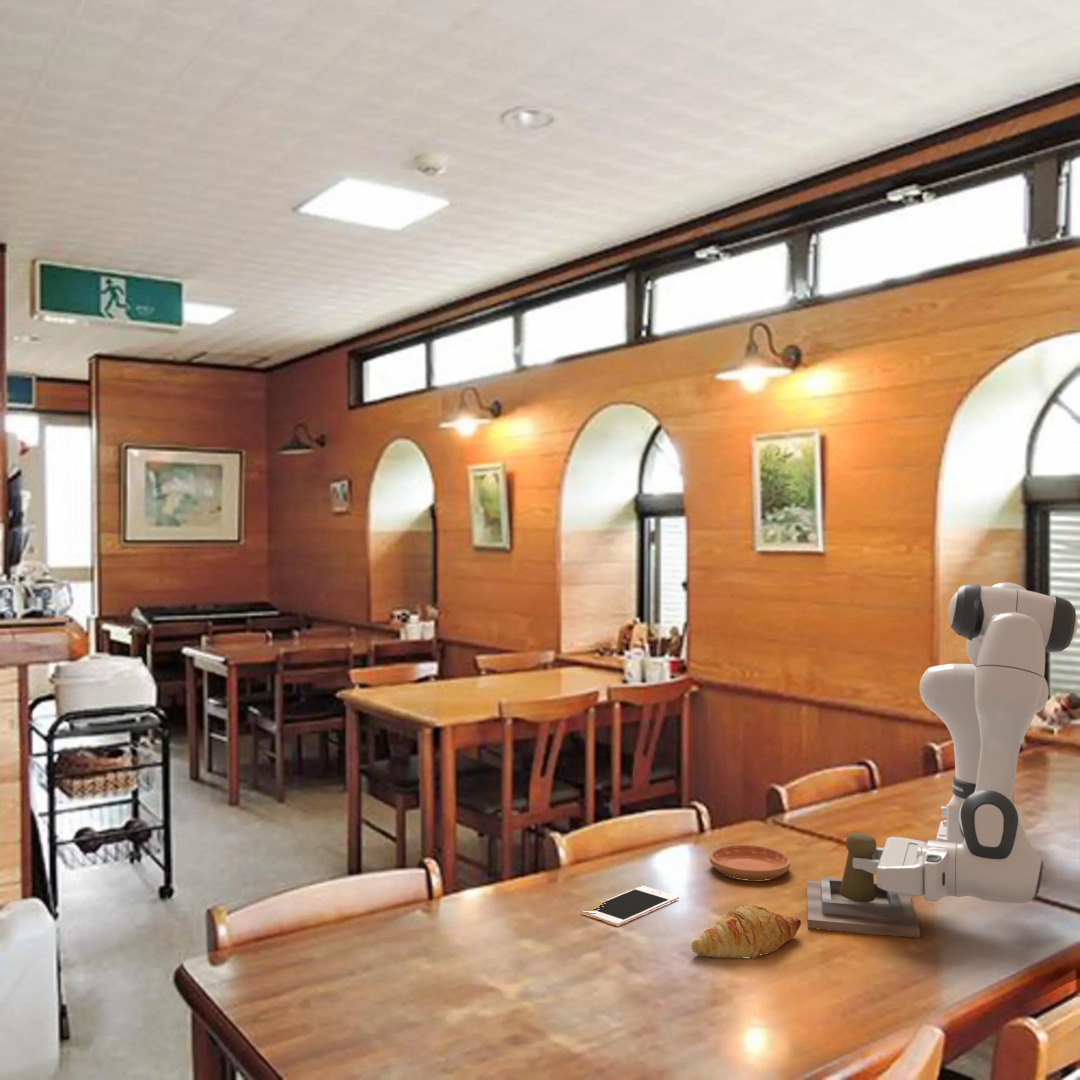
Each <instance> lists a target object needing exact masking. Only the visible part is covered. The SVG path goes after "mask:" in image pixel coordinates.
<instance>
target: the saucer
mask: <svg viewBox="0 0 1080 1080" xmlns="http://www.w3.org/2000/svg"><path fill="white" fill-rule="evenodd" d="M708 858H709V862H710V863H711V865H712V866H713V867H714V868H715V870H717V871H718V872H719V873H720V872H721V873H722V874H721V873H720V874H721V875H723V874H724V875H723V876H725V875H727V876H731V877H735V878H740V879H748V880H765V879H773V878H776V877H778V878H780V877H781V876H783V875H784V874H785V873H786V872H787V871H789V869H790V868H791V862H792V861H791V858H790V857H789V856H788V855H787V854H786V853H784V852H782V851H779V850H777V849H774V848H770V847H765V846H760V845H753V844H752V845H748V844H731V845H726V846H720V847H716V848H714V849H713V850H711V851H710V853H709V857H708ZM727 876H726V877H727ZM779 876H780V877H779ZM776 879H777V878H776ZM773 880H774V879H773Z"/></svg>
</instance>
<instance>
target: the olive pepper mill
mask: <svg viewBox="0 0 1080 1080" xmlns="http://www.w3.org/2000/svg"><path fill="white" fill-rule="evenodd" d="M845 846H846V849H847V851H848V852H847V856H846V860H845V861H846V862H845V867H844V872H843V875H842V878H841V879H842V884H841V888H840V894H841V895H842V896H843V897H845V898H847V899H850V900H853V901H858V902H871V901H873V900H875V893H874V881H875V878H874V875H875V874H873V873H870V872H868V871H865V870H863V869H855V868H853V858H854V857H855V856H858V857H864V858H865V859H870V860H873V857H872V855H873V854H874V853H875V851H876V848H877V841H876V838H875V837H874V836H872V835H870V834H868V833H864V832H852V833H850V834H848V835H847V837H846V840H845Z"/></svg>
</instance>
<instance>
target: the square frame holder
mask: <svg viewBox="0 0 1080 1080" xmlns="http://www.w3.org/2000/svg"><path fill="white" fill-rule="evenodd" d="M842 879H843V878H839V877H824V876H820V881H818V880H806V905H807V910H806V911H807V929H809V928H819V929H818V930H820V929H830V930H829V931H831V930H836V931H835V932H843V931H846V932H845V933H854V932H855V934H868V935H876V934H879V936H887V935H891V936H890V937H898V936H906V937H905V938H909V937H915V938H914V939H920V937H921V936H920V934H921V932H920V931H921V929H920V926H919V923H918V919H917V916H916V912H915V910H914V906H913V903H912V899H911V896H910V895H904V894H899V893H894V892H889V891H885V890H883V889H880V888H879V887H877V880H874V893H875V900H873V901H871V902H858V901H853V900H850V899H847V898H845V897H843V896H842V895H841V894H840V888H841V884H842Z"/></svg>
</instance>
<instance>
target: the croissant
mask: <svg viewBox="0 0 1080 1080" xmlns="http://www.w3.org/2000/svg"><path fill="white" fill-rule="evenodd" d="M801 924H802V921H801V919H799V918H798V917H796V916H788V915H786V914H780V913H776V912H774V911H770V910H767V908H765V907H760V906H758V905H754V904H745V905H737V906H735V907H733V908H732V909H730V910H729V911H728V912H727V915H726V916H723V917H721V918H719V919H718V920H717V921H716V922H715V925H714V926H713V927H712V928H708V929H705V930H704V931H703V933H702V935H700V938H699V939H695V940H693V941H692V943H691V946H690V947H691V950H692V952H693V953H695V954H696V955H699V956H702V957H708V958H717V959H718V958H719V959H744V958H743V957H752V958H751V959H756V958H757V957H759V956H761V955H760V954H766V953H769V954H770V952H771V953H773V952H775V951H777V950H778V949H779V948H780V947H781V946H783V945H784V944H786V943H787V942H789V941H790V940H791V939H793V938H794V937H795V936H796V934H797V932H798V930H799V929H800V927H801ZM766 955H767V954H766Z"/></svg>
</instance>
